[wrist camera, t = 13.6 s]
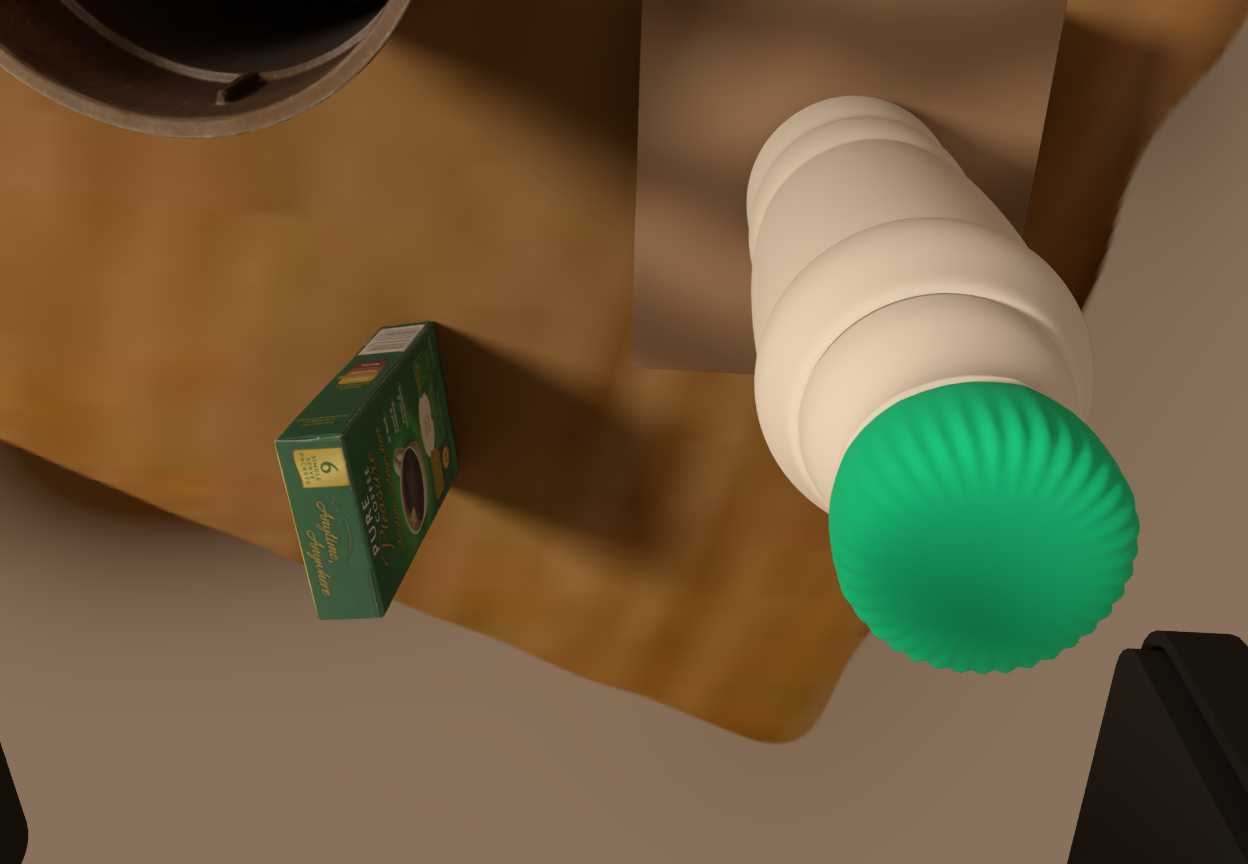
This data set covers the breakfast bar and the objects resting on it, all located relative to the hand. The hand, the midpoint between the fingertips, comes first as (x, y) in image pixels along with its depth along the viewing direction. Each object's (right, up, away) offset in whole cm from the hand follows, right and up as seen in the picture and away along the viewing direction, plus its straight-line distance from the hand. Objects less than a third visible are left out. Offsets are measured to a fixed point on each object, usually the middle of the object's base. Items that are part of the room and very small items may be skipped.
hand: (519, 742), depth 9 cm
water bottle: (+9, +11, +31) cm, 34 cm away
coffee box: (-9, +4, +43) cm, 44 cm away
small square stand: (+9, +14, +37) cm, 40 cm away
